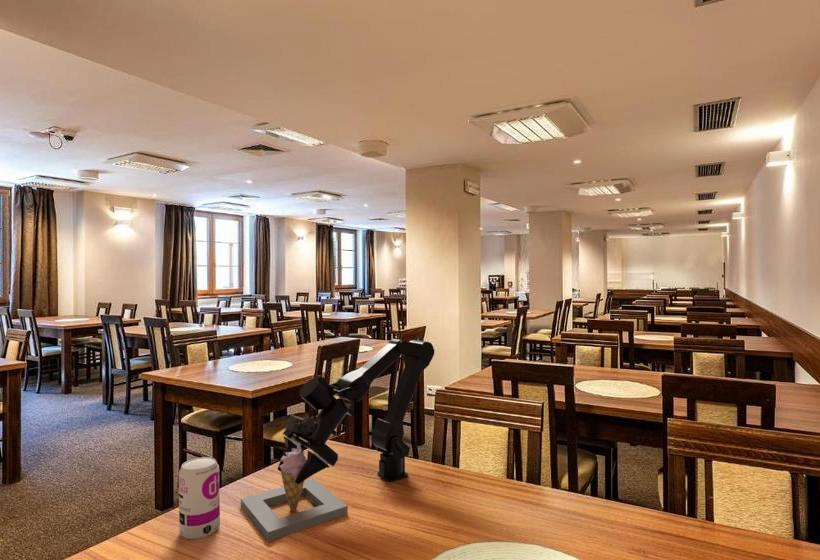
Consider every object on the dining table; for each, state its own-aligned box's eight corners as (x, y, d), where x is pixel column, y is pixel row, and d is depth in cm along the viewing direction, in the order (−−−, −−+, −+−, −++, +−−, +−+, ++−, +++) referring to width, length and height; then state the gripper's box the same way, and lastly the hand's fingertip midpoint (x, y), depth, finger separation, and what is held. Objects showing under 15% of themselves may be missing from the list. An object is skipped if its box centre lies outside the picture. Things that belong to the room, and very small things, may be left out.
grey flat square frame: (313, 485, 128) (313, 478, 128) (347, 514, 113) (347, 505, 113) (240, 506, 117) (240, 498, 117) (268, 541, 102) (267, 532, 102)
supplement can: (228, 524, 109) (226, 458, 109) (201, 543, 101) (200, 472, 101) (199, 518, 112) (198, 454, 111) (171, 537, 104) (169, 468, 104)
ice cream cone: (312, 510, 115) (313, 448, 114) (290, 520, 110) (291, 455, 110) (296, 501, 119) (297, 441, 119) (274, 510, 115) (275, 448, 114)
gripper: (289, 394, 124) (248, 447, 117) (326, 410, 110) (281, 471, 103) (317, 419, 129) (279, 471, 122) (355, 436, 115) (314, 496, 108)
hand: (287, 476), depth 114 cm, fingers open, 9 cm apart
